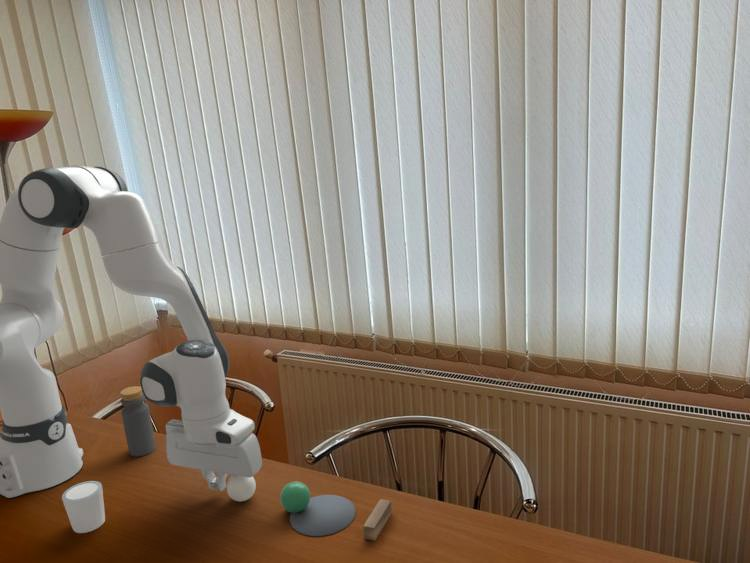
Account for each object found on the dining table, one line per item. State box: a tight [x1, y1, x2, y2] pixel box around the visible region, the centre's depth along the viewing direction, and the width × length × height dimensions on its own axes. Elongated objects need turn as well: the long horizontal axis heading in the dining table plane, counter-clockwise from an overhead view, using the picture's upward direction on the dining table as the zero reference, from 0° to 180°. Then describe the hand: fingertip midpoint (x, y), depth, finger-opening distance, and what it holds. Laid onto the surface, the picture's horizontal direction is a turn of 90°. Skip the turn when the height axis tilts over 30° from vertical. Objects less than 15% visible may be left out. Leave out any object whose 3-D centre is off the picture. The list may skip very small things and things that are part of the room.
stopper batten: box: [362, 498, 393, 542], centre depth 107 cm, size 2×8×2 cm, turn 158°
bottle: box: [120, 385, 157, 457], centre depth 139 cm, size 6×6×15 cm
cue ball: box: [226, 475, 257, 503], centre depth 118 cm, size 6×6×6 cm
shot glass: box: [61, 480, 106, 534], centre depth 114 cm, size 7×7×7 cm
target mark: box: [289, 494, 356, 537], centre depth 111 cm, size 12×12×1 cm
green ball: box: [279, 481, 311, 514], centre depth 113 cm, size 6×6×6 cm
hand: (217, 488), depth 120 cm, fingers closed
